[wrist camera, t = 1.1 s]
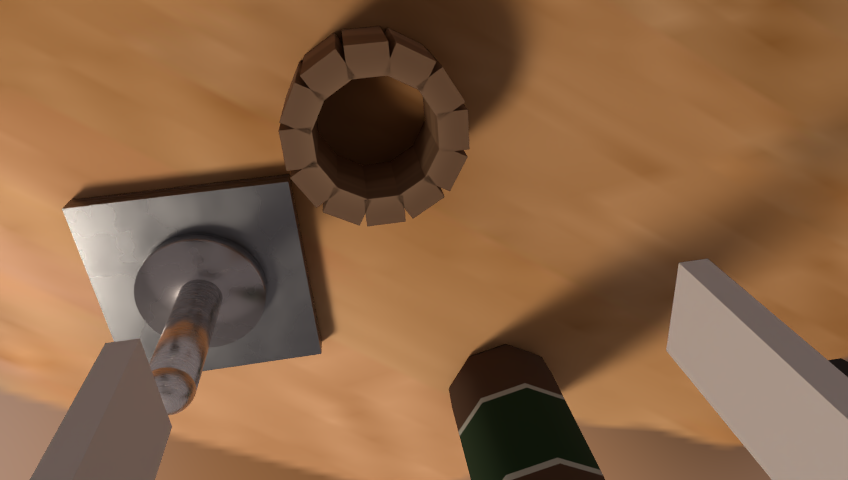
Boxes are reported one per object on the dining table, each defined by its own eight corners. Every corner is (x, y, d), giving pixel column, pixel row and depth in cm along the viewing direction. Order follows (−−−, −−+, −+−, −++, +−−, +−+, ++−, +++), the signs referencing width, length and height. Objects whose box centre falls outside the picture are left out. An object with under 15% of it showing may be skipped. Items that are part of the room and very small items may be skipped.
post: (70, 200, 33) (-40, 314, 23) (289, 174, 34) (273, 272, 24) (135, 369, 38) (69, 519, 29) (321, 342, 40) (319, 478, 30)
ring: (273, 36, 31) (263, 53, 26) (445, 19, 31) (464, 33, 27) (302, 197, 35) (298, 235, 30) (454, 178, 36) (471, 213, 31)
